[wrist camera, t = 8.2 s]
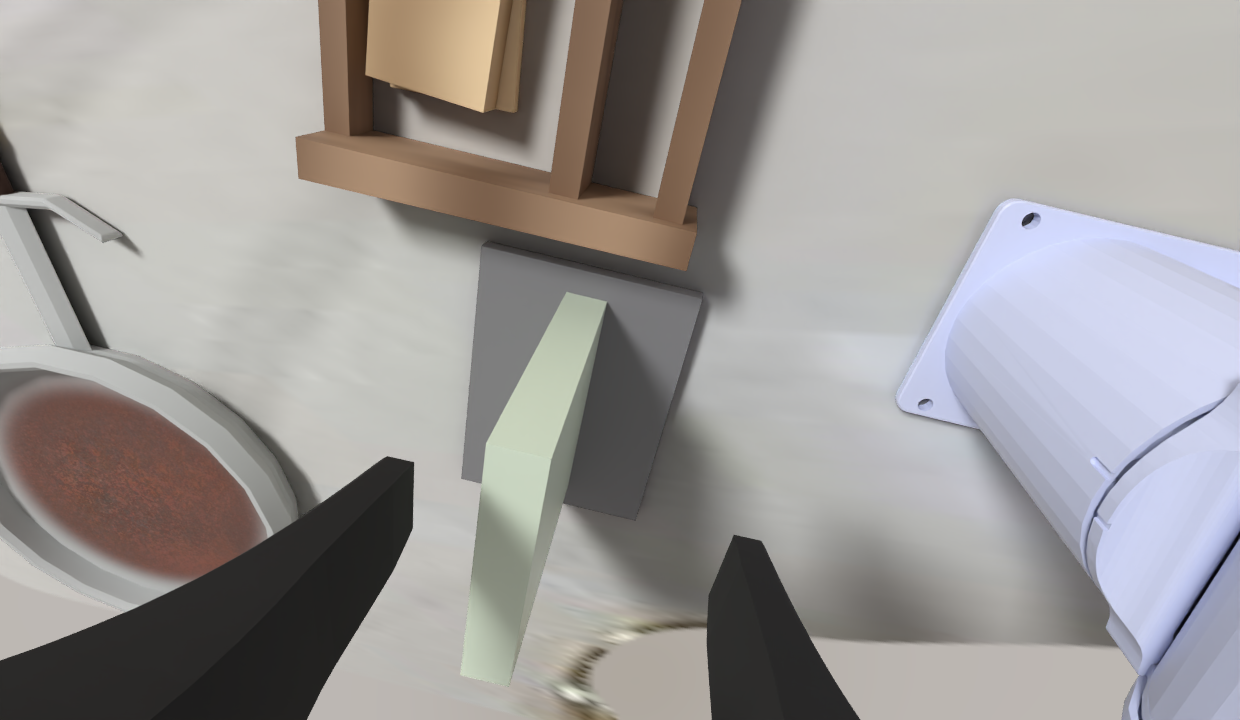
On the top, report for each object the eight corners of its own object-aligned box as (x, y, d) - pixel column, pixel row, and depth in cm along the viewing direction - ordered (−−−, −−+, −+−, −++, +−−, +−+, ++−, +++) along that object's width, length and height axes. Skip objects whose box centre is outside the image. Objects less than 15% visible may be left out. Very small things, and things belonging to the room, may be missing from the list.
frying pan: (121, 51, 17) (317, 653, 30) (196, 53, 20) (347, 607, 33) (-360, 30, 19) (25, 613, 32) (-233, 33, 21) (76, 571, 34)
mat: (702, 292, 21) (702, 299, 20) (636, 511, 26) (635, 520, 26) (487, 241, 21) (481, 246, 20) (466, 470, 26) (461, 478, 26)
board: (606, 301, 21) (551, 458, 13) (567, 486, 25) (508, 687, 17) (566, 291, 21) (485, 442, 13) (534, 478, 25) (460, 675, 17)
